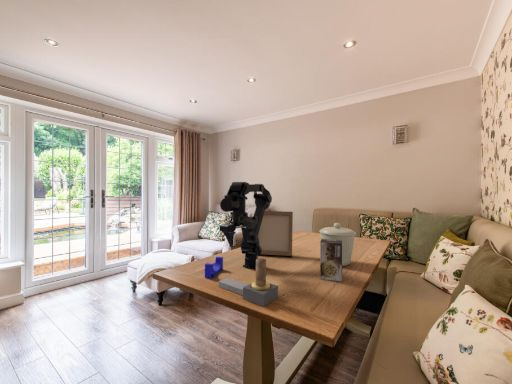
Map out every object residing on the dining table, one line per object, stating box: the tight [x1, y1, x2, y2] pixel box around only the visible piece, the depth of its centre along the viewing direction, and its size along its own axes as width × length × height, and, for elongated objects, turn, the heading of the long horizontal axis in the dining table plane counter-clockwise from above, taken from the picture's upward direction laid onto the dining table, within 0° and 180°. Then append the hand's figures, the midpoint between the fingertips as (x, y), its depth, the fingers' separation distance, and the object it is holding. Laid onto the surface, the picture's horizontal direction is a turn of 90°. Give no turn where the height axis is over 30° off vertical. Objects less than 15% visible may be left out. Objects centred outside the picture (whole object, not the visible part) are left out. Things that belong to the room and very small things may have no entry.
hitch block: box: [218, 277, 279, 307], centre depth 89 cm, size 9×23×4 cm, turn 53°
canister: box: [318, 222, 357, 267], centre depth 125 cm, size 18×18×21 cm
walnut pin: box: [251, 257, 271, 291], centre depth 85 cm, size 6×6×13 cm
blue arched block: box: [204, 256, 224, 279], centre depth 108 cm, size 12×4×6 cm, turn 164°
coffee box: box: [319, 238, 343, 282], centre depth 104 cm, size 9×6×16 cm
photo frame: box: [258, 210, 294, 257], centre depth 143 cm, size 15×22×25 cm
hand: (238, 245), depth 107 cm, fingers open, 9 cm apart
